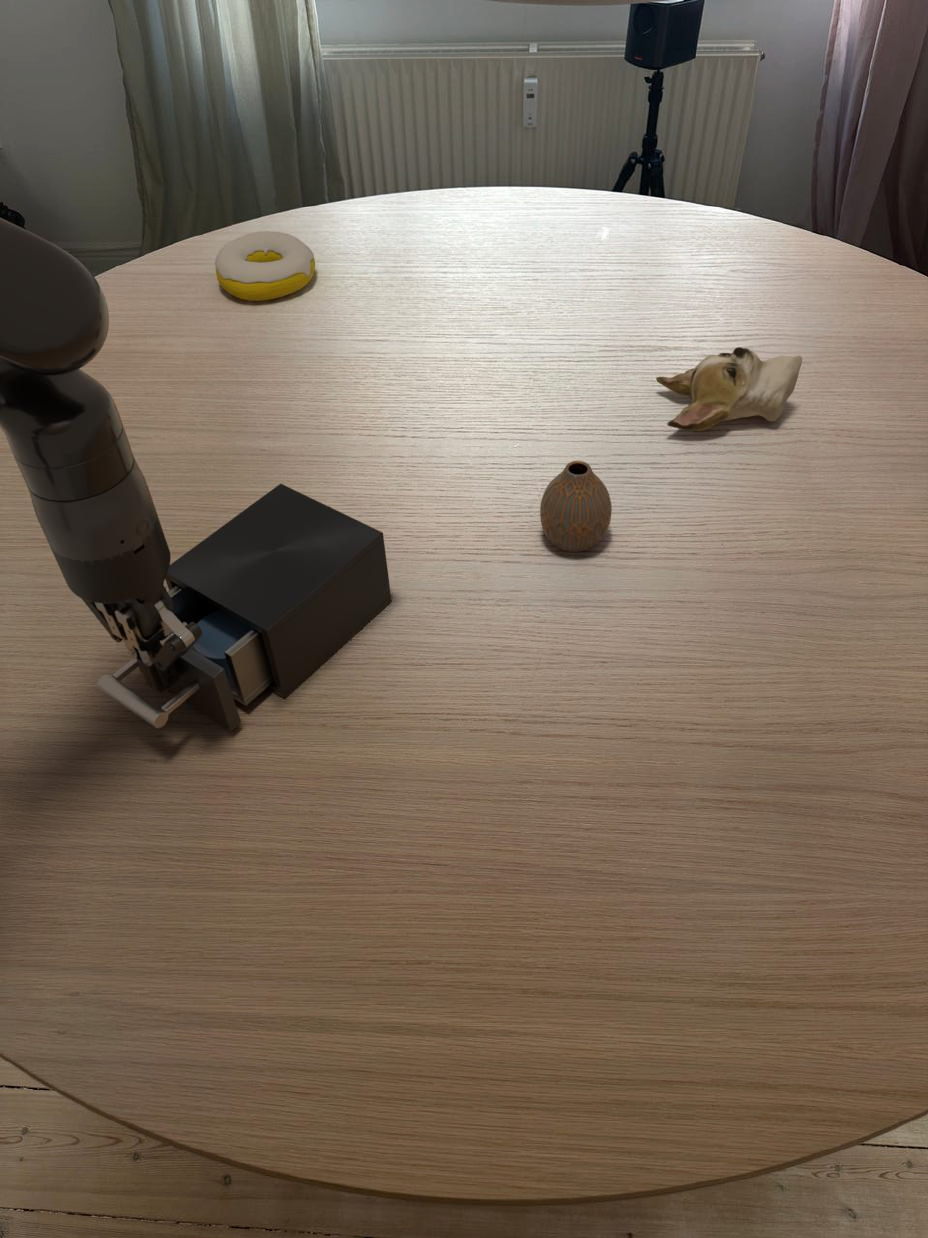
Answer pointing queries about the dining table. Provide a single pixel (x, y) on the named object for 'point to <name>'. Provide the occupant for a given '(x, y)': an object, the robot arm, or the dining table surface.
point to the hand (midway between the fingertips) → (164, 682)
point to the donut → (264, 265)
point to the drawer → (200, 674)
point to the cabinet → (291, 579)
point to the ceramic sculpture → (733, 388)
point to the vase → (575, 508)
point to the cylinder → (219, 637)
